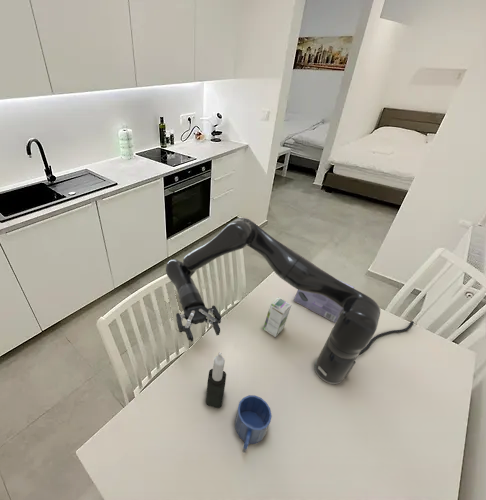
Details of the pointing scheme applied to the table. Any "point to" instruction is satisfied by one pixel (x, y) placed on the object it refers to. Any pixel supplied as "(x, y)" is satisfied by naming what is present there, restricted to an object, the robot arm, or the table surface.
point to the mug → (252, 420)
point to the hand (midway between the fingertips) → (205, 336)
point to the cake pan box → (319, 304)
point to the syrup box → (277, 316)
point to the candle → (216, 383)
